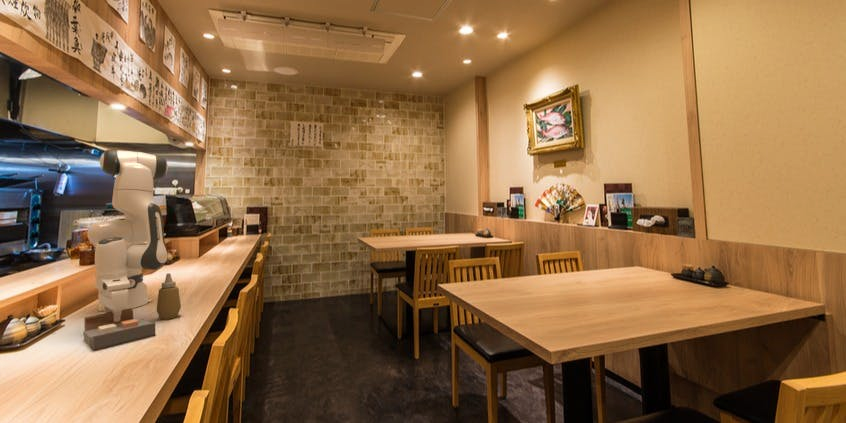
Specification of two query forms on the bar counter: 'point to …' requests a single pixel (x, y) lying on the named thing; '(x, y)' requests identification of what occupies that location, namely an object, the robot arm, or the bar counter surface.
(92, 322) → the long wooden plank
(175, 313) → the squeeze bottle
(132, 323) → the tile terracotta
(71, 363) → the bar counter surface
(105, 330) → the tile cream
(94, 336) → the grey tray with lip
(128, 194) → the robot arm
